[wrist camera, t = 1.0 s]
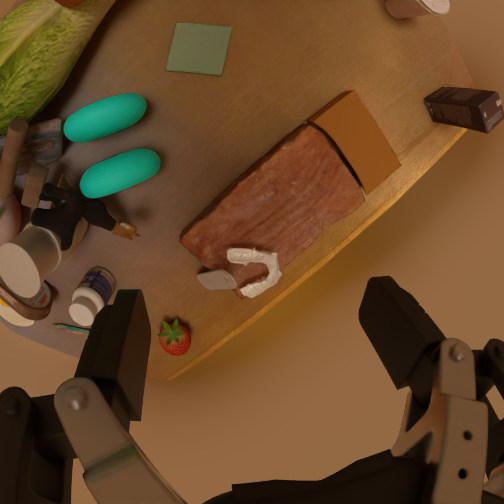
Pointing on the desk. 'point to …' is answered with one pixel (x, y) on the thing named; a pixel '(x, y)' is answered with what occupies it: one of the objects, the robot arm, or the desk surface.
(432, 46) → the desk surface
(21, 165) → the stone
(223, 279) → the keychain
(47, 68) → the lettuce
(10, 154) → the wood blocks
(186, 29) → the mat
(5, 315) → the cracked egg
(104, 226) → the figurine
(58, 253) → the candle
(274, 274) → the false teeth
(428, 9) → the smoothie
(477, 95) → the box
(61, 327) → the pencil
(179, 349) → the fruit
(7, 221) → the pinkish white round bulb
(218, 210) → the brown wooden flat board
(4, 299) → the tin
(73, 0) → the rounded orange block
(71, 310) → the pill bottle
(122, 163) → the donuts
